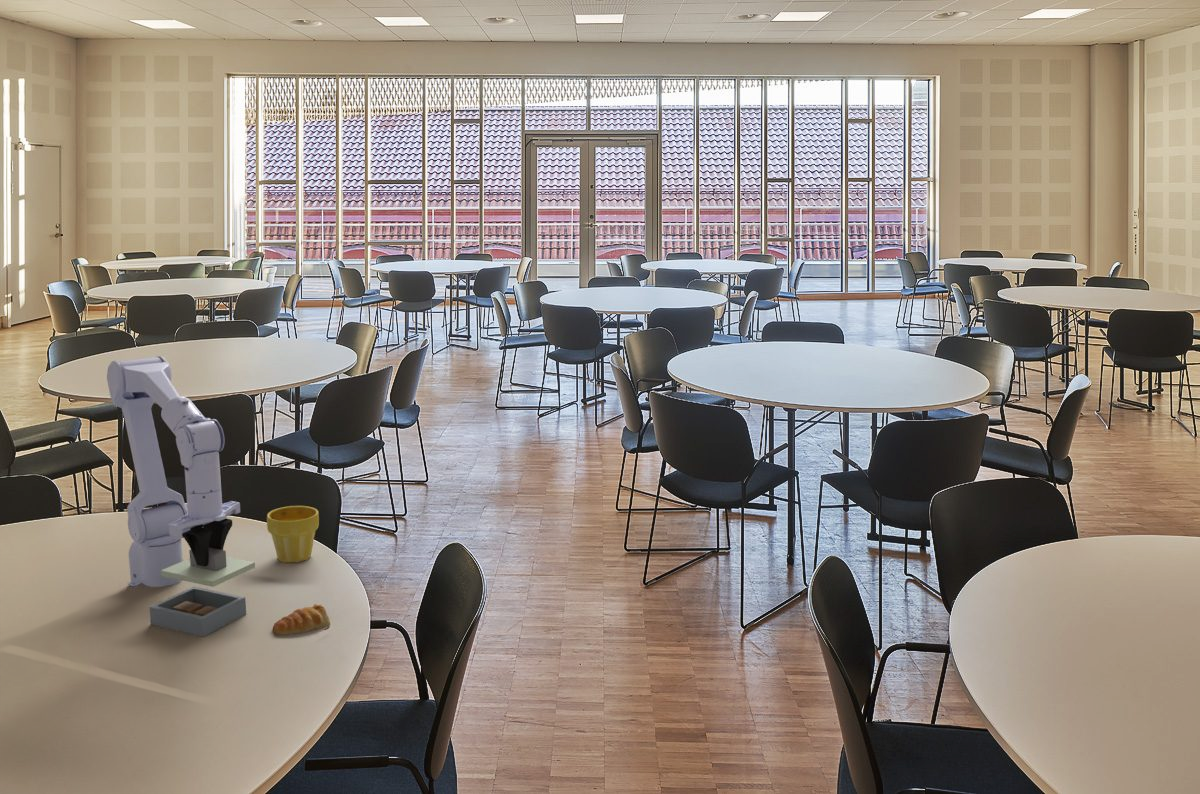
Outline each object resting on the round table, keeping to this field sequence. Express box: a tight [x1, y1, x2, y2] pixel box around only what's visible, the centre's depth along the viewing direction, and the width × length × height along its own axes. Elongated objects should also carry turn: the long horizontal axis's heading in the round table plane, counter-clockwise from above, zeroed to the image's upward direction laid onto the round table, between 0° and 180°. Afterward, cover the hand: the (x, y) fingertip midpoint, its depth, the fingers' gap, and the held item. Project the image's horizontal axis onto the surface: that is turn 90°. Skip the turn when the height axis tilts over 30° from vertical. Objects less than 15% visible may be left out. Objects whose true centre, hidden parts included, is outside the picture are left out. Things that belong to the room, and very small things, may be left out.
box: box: [148, 586, 247, 638], centre depth 168 cm, size 12×10×4 cm
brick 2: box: [195, 606, 218, 616], centre depth 167 cm, size 4×3×2 cm
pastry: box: [272, 603, 331, 636], centre depth 166 cm, size 9×7×4 cm
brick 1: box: [172, 601, 203, 615], centre depth 169 cm, size 4×3×2 cm
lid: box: [161, 547, 256, 588], centre depth 171 cm, size 12×10×5 cm
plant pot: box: [266, 505, 320, 564], centre depth 200 cm, size 10×10×10 cm
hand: (208, 562), depth 171 cm, fingers closed on lid, 2 cm apart
